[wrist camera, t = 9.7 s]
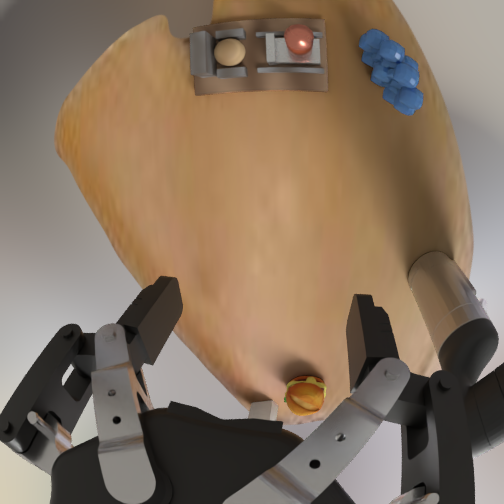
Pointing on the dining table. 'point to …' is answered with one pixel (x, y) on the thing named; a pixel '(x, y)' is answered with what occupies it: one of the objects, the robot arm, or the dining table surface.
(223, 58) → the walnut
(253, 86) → the base
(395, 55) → the grapes
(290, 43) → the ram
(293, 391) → the cheeseburger
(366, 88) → the dining table surface
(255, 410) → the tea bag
